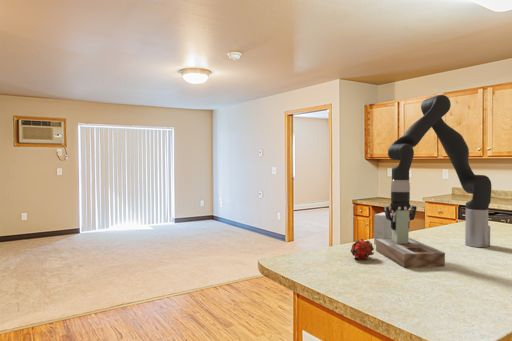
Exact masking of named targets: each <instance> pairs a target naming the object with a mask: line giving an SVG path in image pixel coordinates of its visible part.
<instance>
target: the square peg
mask: <svg viewBox="0 0 512 341" xmlns="http://www.w3.org/2000/svg"><path fill="white" fill-rule="evenodd" d="M392 211H393V210H392V209H391V212H392ZM393 214H395V212H393ZM409 214H410V210H396V220H395V222H396V230H392V241H393V242H395V243H397V244H406V243H408V238H410V237H409V236H410V235H409V233H410V232H409V229H410V224H409Z"/></svg>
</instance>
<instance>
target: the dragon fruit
mask: <svg viewBox="0 0 512 341" xmlns="http://www.w3.org/2000/svg"><path fill="white" fill-rule="evenodd" d="M374 250H375V248H374V246H373V243H372V242H370V240H364V239H363V238H361V239H360V240H356V241H355V242H354V243H352V245H351V249H350V253H351V254H352V256H354V260H361V259H364V260H368V259H369V258H370V256H372V255H373V256H374V254H375V252H373V251H374Z"/></svg>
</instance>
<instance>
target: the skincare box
mask: <svg viewBox="0 0 512 341" xmlns="http://www.w3.org/2000/svg"><path fill="white" fill-rule="evenodd" d="M391 214H392V212H390V215H391ZM391 216H392V215H391ZM373 219H374V222H373V223H374V224H373V227H374V228H373V231H374V232H373V244H374V245H376V239H392V229H391V221H390V220H387V219H386V215H385V211H384V212H383V211H382V212H380V213H376V214H374V217H373Z"/></svg>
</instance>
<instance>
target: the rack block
mask: <svg viewBox="0 0 512 341" xmlns="http://www.w3.org/2000/svg"><path fill="white" fill-rule="evenodd" d="M375 251H376V253H379V254H380V255H382V256H383V257H385V258H388V259H389V260H390V261H391V262H393V263H395V264H397V265H399V266H400V267H402V268H403V269H405V268H406V269H408V268H410V269H411V268H413V269H414V268H415V269H416V268H437V267H439V268H441V267H443V268H444V267H446V252H444V251H442V250H439V249H437V248H435V247H433V246H430V245H428V244H425V243H424V242H423V243H422V242H421V241H418V240H416V239H413V238H411V237H409V238H408V243H406V244H397V243H395V242H393V241H392V239H376V244H375Z"/></svg>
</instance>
